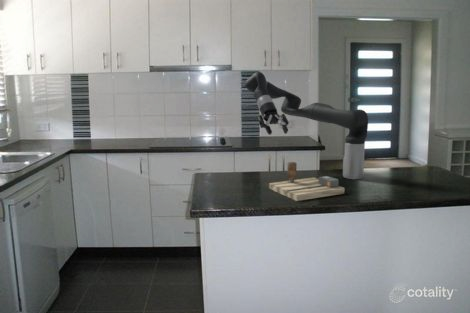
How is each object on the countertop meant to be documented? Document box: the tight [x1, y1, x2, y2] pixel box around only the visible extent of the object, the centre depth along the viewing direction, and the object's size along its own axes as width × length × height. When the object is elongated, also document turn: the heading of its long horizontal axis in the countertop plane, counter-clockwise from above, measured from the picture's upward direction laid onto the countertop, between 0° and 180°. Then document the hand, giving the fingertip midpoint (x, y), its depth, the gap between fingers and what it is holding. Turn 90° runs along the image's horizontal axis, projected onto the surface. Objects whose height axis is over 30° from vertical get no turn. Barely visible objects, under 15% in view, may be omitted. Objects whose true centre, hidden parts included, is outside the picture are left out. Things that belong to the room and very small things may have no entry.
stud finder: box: [318, 175, 340, 188], centre depth 184 cm, size 8×4×3 cm, turn 26°
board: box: [268, 176, 345, 202], centre depth 184 cm, size 22×24×3 cm
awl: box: [286, 161, 298, 183], centre depth 190 cm, size 4×4×11 cm
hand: (278, 133), depth 197 cm, fingers open, 8 cm apart
